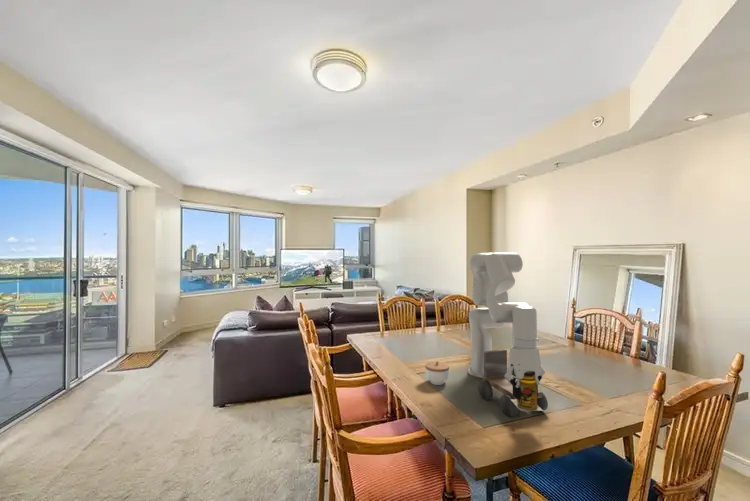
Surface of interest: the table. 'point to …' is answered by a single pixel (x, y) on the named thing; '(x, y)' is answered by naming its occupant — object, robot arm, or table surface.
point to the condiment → (528, 394)
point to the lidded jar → (437, 372)
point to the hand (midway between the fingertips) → (525, 396)
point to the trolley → (501, 382)
